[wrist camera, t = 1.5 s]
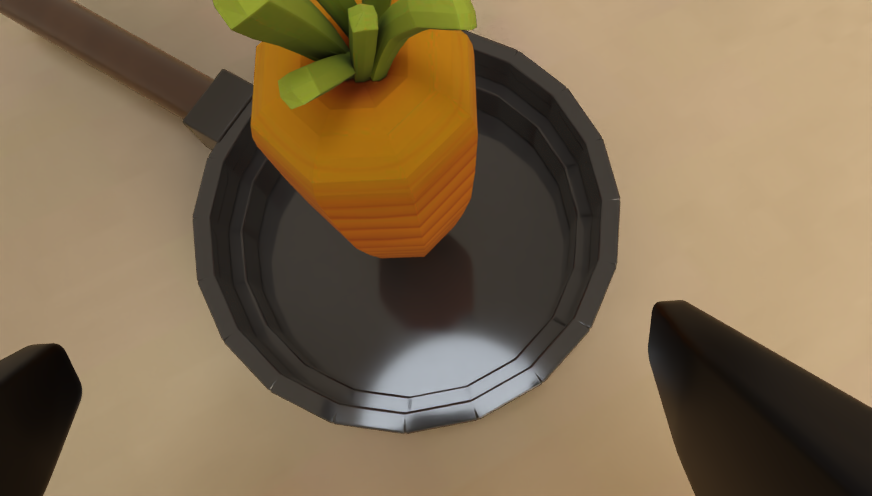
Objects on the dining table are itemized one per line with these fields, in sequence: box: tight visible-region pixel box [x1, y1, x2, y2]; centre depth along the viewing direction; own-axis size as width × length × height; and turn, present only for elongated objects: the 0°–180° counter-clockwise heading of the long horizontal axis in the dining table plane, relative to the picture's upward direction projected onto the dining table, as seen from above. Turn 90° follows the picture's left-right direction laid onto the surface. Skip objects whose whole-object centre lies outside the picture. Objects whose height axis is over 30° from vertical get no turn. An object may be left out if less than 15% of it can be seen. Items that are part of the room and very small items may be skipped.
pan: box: [193, 30, 620, 434], centre depth 21 cm, size 14×14×4 cm
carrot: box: [213, 0, 478, 258], centre depth 15 cm, size 5×5×15 cm
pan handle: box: [0, 0, 254, 150], centre depth 22 cm, size 12×2×2 cm, turn 59°
